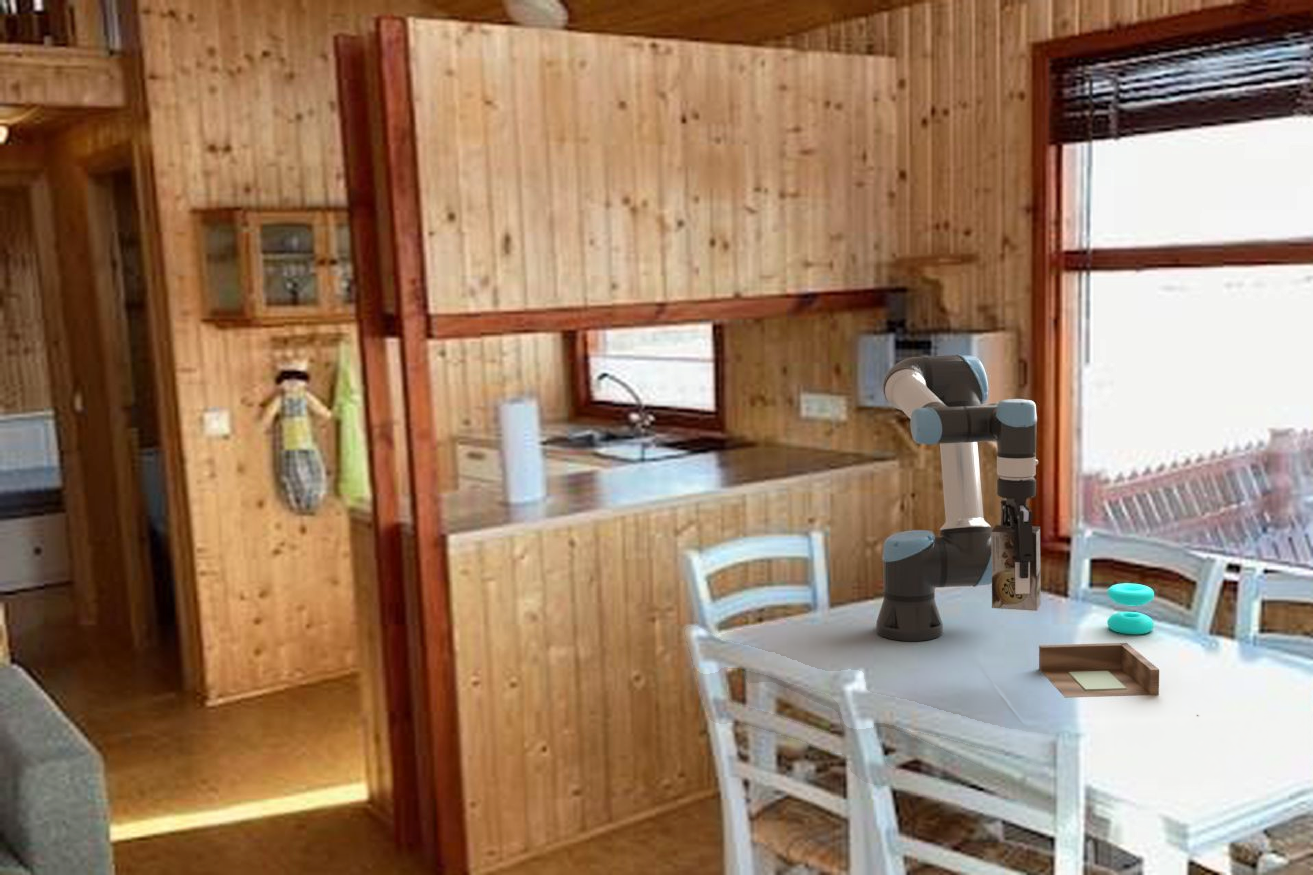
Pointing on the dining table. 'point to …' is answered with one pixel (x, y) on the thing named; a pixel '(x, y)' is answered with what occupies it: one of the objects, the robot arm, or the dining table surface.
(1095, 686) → the pad
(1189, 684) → the dining table surface
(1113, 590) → the donuts
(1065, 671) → the wooden corner tray
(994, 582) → the coffee box
